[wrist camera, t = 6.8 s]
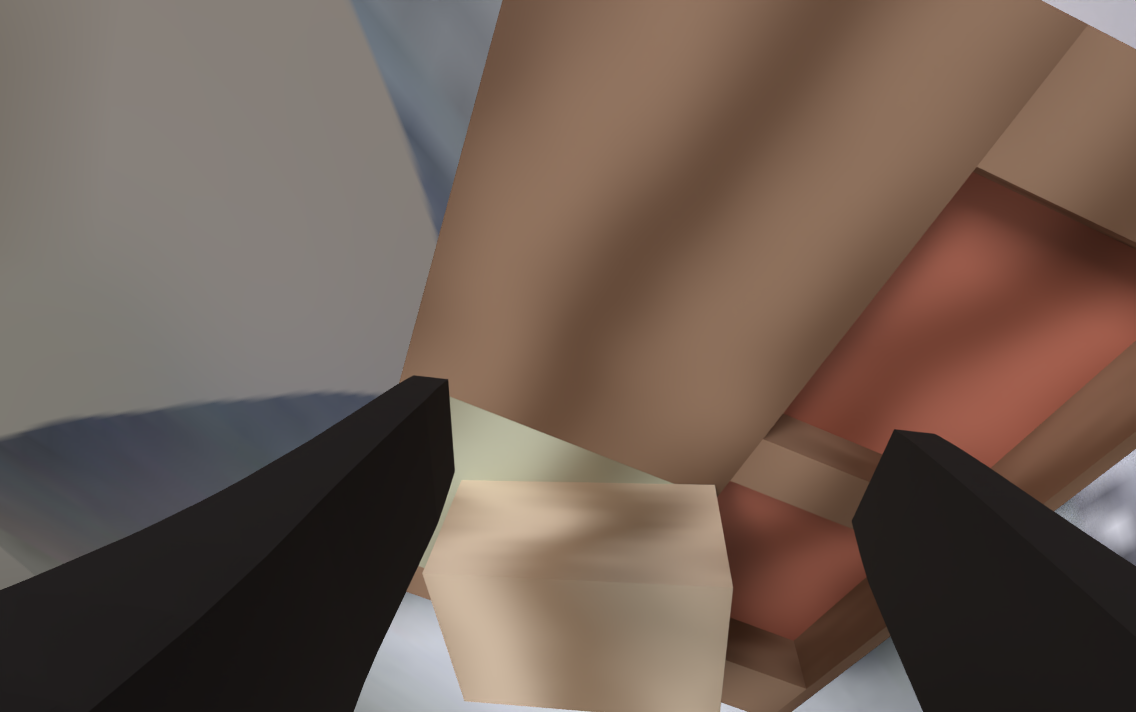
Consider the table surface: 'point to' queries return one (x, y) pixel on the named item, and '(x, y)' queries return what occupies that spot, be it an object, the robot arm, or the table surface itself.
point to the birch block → (584, 595)
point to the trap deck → (788, 274)
